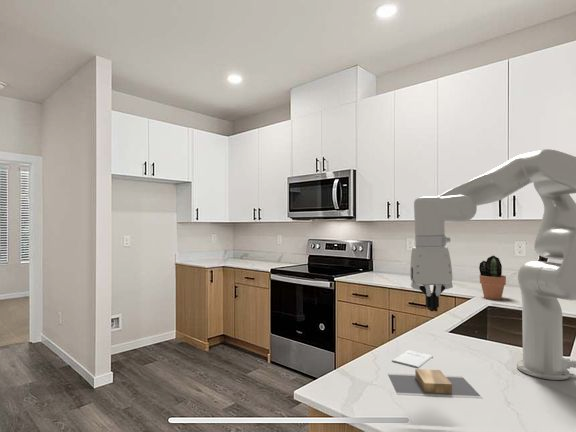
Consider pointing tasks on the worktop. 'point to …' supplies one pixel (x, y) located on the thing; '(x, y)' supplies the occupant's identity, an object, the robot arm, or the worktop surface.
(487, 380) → the worktop surface
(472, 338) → the worktop surface
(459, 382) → the mat
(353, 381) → the worktop surface
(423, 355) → the external hard drive
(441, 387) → the wooden block
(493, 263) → the potted plant
